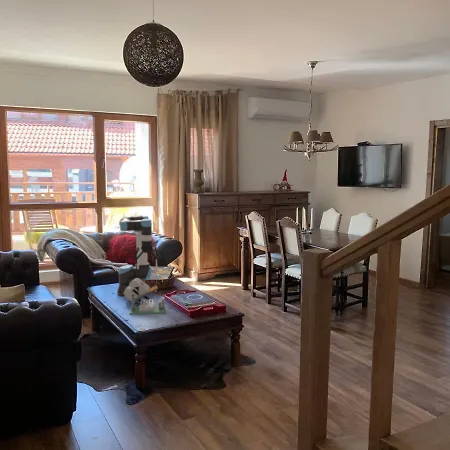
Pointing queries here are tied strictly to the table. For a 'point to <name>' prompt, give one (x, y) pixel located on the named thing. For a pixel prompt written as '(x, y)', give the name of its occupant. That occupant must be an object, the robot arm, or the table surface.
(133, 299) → the strap
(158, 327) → the table surface
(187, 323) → the table surface
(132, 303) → the forked tab bracket
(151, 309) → the heatsink
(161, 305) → the lug
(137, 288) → the robotic device
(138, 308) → the board
